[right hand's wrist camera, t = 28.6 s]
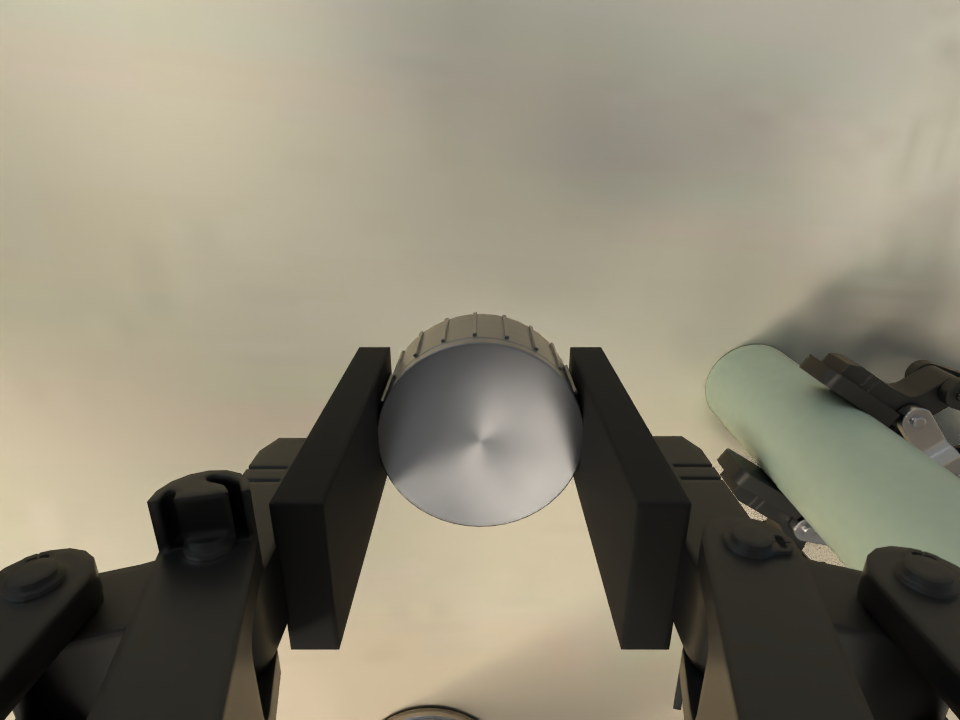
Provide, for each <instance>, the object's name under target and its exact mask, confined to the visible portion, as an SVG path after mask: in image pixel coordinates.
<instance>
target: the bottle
mask: <svg viewBox="0 0 960 720" xmlns="http://www.w3.org/2000/svg"><path fill="white" fill-rule="evenodd" d="M799 366H800V365H799V364H797V363H796V362H795V361H793V360H792V359H790V358H789V357H787V356H786V355H785V354H783V353H782V352H780V351H779V350H777V349H775V348H773V347H770V346H766V345H747V346H743V347H740V348H737V349H735V350H733V351H731V352H729V353H728V354H726V355H725V356H724V357H722V358H721V359H720V360H719V361H718V362H717V363H716V365H715V366H714V367H713V369H712V370H711V372H710V374H709V376H708V379H707V383H706V399H707V403H708V405H709V407H710V409H711V410H712V411H713V413H714V414H715V415H716V416H717V417H718V418H719V420H720V421H721V422H722V423H723V424H724V425H725V427H726V428H727V429H728V430H729V431H730V432H731V434H732V435H733V436H734V437H735V438H736V439H737V441H738V442H739V443H740V444H741V445H742V446H743V447H744V449H745V450H746V451H747V452H748V453H749V454H750V456H751V457H752V458H753V459H754V460H755V461H756V463H757V464H758V465H759V466H760V467H761V468H762V470H763V471H764V472H765V473H766V474H767V475H768V477H769V478H770V479H771V480H772V481H773V482H774V483H775V485H776V486H777V487H778V488H779V489H780V490H781V492H782V493H783V494H784V495H785V496H786V497H787V499H788V500H789V501H790V502H791V503H792V504H793V506H794V507H795V508H796V509H797V510H798V511H799V513H800V514H801V515H802V516H803V517H804V518H805V519H806V521H807V522H808V523H809V524H810V525H811V526H812V528H813V529H814V530H815V531H816V532H817V533H818V535H819V536H820V537H821V538H822V539H823V540H824V542H825V543H826V544H827V545H828V546H829V547H830V549H831V550H832V551H833V552H834V553H835V554H836V555H837V557H838V558H839V559H840V560H841V561H842V562H843V564H844V565H845V566H846V567H847V568H850V569H855V570H860V571H863V568H864V565H865V561H866V558H867V555H868V554H869V553H871V552H872V551H873V550H874V549H876V548H881V547H887V546H898V547H907V548H913V549H918V550H922V551H923V552H924V551H926V552H928V553H931V554H934V555H937V556H938V557H940V558H942V559H944V560H946V561H948V562H951V563H953V564H955V565H957V566H958V567H960V478H959V477H957V476H956V475H954V474H953V473H952V472H950V471H949V470H947V469H946V468H944V467H943V466H942V465H940V464H939V463H937V462H936V461H935V460H933V459H932V458H930V457H929V456H927V455H926V454H925V453H923V452H922V451H920V450H919V449H918V448H916V447H915V446H913V445H912V444H911V443H909V442H908V441H906V440H905V439H903V438H902V437H901V436H899V435H898V434H896V433H895V432H894V431H892V430H891V429H889V428H888V427H886V426H885V425H884V424H882V423H881V422H879V421H878V420H877V419H875V418H874V417H872V416H871V415H869V414H867V413H866V412H864V411H863V410H861V409H860V408H858V407H857V406H855V405H854V404H852V403H851V402H849V401H848V400H846V399H845V398H843V397H842V396H840V395H839V394H837V393H836V392H834V391H833V390H831V389H830V388H828V387H827V386H825V385H824V384H822V383H821V382H819V381H818V380H817V379H815V378H814V377H812V376H811V375H810V374H808V373H807V372H805V371H804V370H803V369H801V368H800V367H799Z"/></svg>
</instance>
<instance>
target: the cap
mask: <svg viewBox="0 0 960 720" xmlns="http://www.w3.org/2000/svg"><path fill="white" fill-rule="evenodd" d="M576 394H578V392H577V390H576V387H575V384H574V382H573V379H572V377H571V374H570V371H569V369H568V366H567V365H565V366H564V364H563V362H562V360H561V358H560V357H559V355H558V353H557V352H556V349H555V347H554V344H553V343H551V344H550V343H549V342H548V341H547V340H546V339H545V338H543V337H542V336H541V335H540V334H539V333H537V332H536V331H534V330H533V327H532V326H529V327H528V326H526V325H524V324H522V323H520V322H518V321H515V320H512V319H509V318H506V315H503V316H502V317H501V316H497V315H487V314H477V312H476V313H473V315H465V316H459V317H455V318H452V319H448V318H446V319H445V321H443V322H441V323H439V324H437V325H435V326H433V327H431V328H430V329H428V330H426V331H425V332H423V331H422V332H420V334H419V337H417V338H416V339H415V340H414V341H413V342H412V343H411V344H410V346H409V347H408V348H407V349H406V351H402V352H401V354H400V357H399V360H398V363H397V365H396V368H395V371H394V373H393V374H390V377H389V380H388V382H387V385H386V388H385V390H384V393H383V395H382V398H381V401H380V404H382V406H381V409H380V412H379V417H378V439H379V452H380V459H381V462H382V465H383V467H384V469H385V472H386V474H387V475H388V477H389V478H390V480H391V482H392V483H393V485H394V486H395V487H396V488H397V490H398V491H399V492H400V493H401V494H402V495H403V496H404V497H405V498H406V499H407V500H408V501H409V502H411V503H412V504H413V505H415V506H416V507H417V508H419V509H420V510H422V511H424V512H426V513H427V514H429V515H431V516H434V517H436V518H438V519H441V520H444V521H447V522H450V523H454V524H459V525H465V526H477V527H482V526H496V525H502V524H507V523H511V522H515V521H518V520H520V519H523V518H525V517H528V516H530V515H532V514H534V513H536V512H537V511H539V510H541V509H542V508H544V507H545V506H547V505H548V504H549V503H551V502H552V501H553V500H554V499H555V498H556V497H557V496H558V495H559V494H560V493H561V492H562V491H563V490H564V489H565V487H566V486H567V485H568V483H569V482H570V480H571V479H572V477H573V476H574V474H575V471H576V469H577V467H578V465H579V462H580V457H581V444H582V430H583V416H582V412H581V409H580V405H579V403H578V400H577V397H576Z"/></svg>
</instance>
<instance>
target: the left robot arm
mask: <svg viewBox="0 0 960 720" xmlns="http://www.w3.org/2000/svg"><path fill="white" fill-rule="evenodd" d="M799 367H800V368H801V369H803V370H804V371H805V372H807V373H808V374H810V375H811V376H812V377H814V378H815V379H817V380H818V381H819V382H821V383H822V384H824V385H825V386H827V387H828V388H830V389H831V390H833V391H834V392H836V393H837V394H839V395H840V396H842V397H843V398H845V399H846V400H848V401H849V402H851V403H852V404H854V405H855V406H857V407H858V408H860V409H861V410H863V411H864V412H866V413H867V414H869V415H871V416H872V417H874V418H875V419H877V420H878V421H879V422H881V423H882V424H884V425H885V426H886V427H888V428H889V429H891V430H892V431H894V432H895V433H896V434H898V435H899V436H901V437H902V438H903V439H905V440H906V441H908V442H909V443H911V444H912V445H913V446H915V447H916V448H918V449H919V450H920V451H922V452H923V453H925V454H926V455H927V456H929V457H930V458H932V459H933V460H935V461H936V462H937V463H939V464H940V465H942V466H943V467H944V468H946V469H947V470H949V471H950V472H952V473H953V474H954V475H956V476H957V477H959V478H960V445H957V446H952V445H950V444H949V443H948V441H947V440H946V439H945V437H944V435H943V433H942V432H941V430H940V428H939V426H938V424H937V423H936V421H935V419H934V417H933V415H935V414H936V413H938V412H940V411H942V410H943V409H945V408H947V407H948V406H949V407H951V408H954V409H957V410H960V371H957V370H954V369H951V368H948V367H945V366H942V365H939V364H936V363H933V362H929V361H926V360H919V361H916V362H914V363H912V364H911V365H910V366H909V367H908V368H907V370H906V372H905V378H903V379H902V380H900V381H898V382H895V383H890V384H887V383H884V382H883V381H881V380H880V379H878V378H877V377H876V376H874V375H873V374H871V373H870V372H868V371H867V370H865V369H864V368H863V367H861V366H859V365H858V364H856V363H854V362H853V361H851V360H849V359H848V358H846V357H844V356H843V355H840V354H835V353H829V354H828V355H827V356H826V357H825V358H824V359H823V360H822V361H819V360H818V359H816V358H815V357H813V356H812V355H809V356H808V357H807V358H806V359H805V361H804V362H803V363H802V364H801V365H800V366H799ZM717 461H718V462H719V464H720V465H721V466H722V468H723V469H724V471H723V472H722V473H721V474H720V475H721V477H722V478H723V480H724V481H725V483H726V484H727V485H728V487H729V488H730V490H731V491H732V492H733V494H734V495H735V496H736V498H737V499H738V500H739V501H740V502H742V503H744V504H746V505H748V506H749V507H751V508H752V509H755V510H756V511H757V512H759V513H761V514H763V515H764V516H766V517H768V518H767V520H765V521H762V522H764V523H766V524H769V525H771V526H773V527H775V528H778V529H779V530H780V531H782V532H783V533H785V534H786V535H787V536H789V537H790V538H791V539H792V540H793V541H794V542H795V544H796V545H797V546H798V548H799V549H800V550H801V552H802V555H803V557H804V558H807V559H809V558H808V556H807V555H806V554H805V553H804V552H803V551H802V549H803V547H804V545H805V543H806V542H811V543H817V544H822V545H827V544H826V543H825V542H824V540H823V539H822V538H821V537H820V536H819V535H818V533H817V532H816V531H815V530H814V529H813V528H812V526H811V525H810V524H809V523H808V522H807V521H806V519H805V518H804V517H803V516H802V515H801V514H800V513H799V511H798V510H797V509H796V508H795V507H794V506H793V504H792V503H791V502H790V501H789V500H788V499H787V497H786V496H785V495H784V494H783V493H782V492H781V490H780V489H779V488H778V487H777V486H776V485H775V483H774V482H773V481H772V480H771V479H770V478H769V477H768V475H767V474H766V473H765V472H764V471H763V470H762V468H760V467H758V466H757V465H755V464H754V463H752V462H750V461H749V460H747V459H745V458H744V457H742V456H740V455H739V454H737V453H735V452H734V451H732V450H730V449H728V448H727V449H726V450H725V451H724V452H723V453H722V455H721V456H720V457H719V458H718V459H717ZM827 546H828V545H827ZM821 563H825V562H821ZM387 720H474V719H472V718H470V717H468V716H466V715H464V714H461V713H458V712H455V711H451V710H447V709H439V708H420V709H413V710H409V711H405V712H402V713H399V714H396V715H394V716H392V717H390V718H388V719H387Z"/></svg>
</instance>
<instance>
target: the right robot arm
mask: <svg viewBox="0 0 960 720" xmlns="http://www.w3.org/2000/svg"><path fill="white" fill-rule="evenodd" d="M569 371H570V374H571V377H572V379H573V382H574V384H575V387H576V390H577V392H578V394H576V397H577V400H578V403H579V405H580V409H581V412H582V416H583V430H582V444H581V457H580V462H579V465H578V467H577V469H576V471H575V474H574V476H573V477H574V480H575V484H576V488H577V491H578V495H579V498H580V502H581V506H582V509H583V513H584V517H585V520H586V524H587V527H588V531H589V535H590V538H591V542H592V545H593V549H594V553H595V556H596V560H597V564H598V567H599V571H600V574H601V578H602V582H603V585H604V589H605V593H606V596H607V600H608V603H609V607H610V611H611V614H612V618H613V622H614V625H615V629H616V632H617V636H618V640H619V643H620V647H621V649H669V647H670V640H671V634H672V627H673V622H674V624H675V627H676V629H677V632H678V634H679V637H680V639H681V642H682V644H683V651H682V657H681V663H680V669H679V675H678V681H677V687H676V693H675V699H674V706H673V709H678V710H681V706H682V702H683V711H684V720H948V719H947V718H946V714H947V712H948V709H949V708H950V709H951V710H952V711H953V712H954V714H955V715H956V716H957V717H958V718H959V720H960V567H958V566H957V565H955V564H953V563H951V562H948V561H946V560H944V559H942V558H940V557H938V556H937V555H934V554H931V553H928V552H926V551H924V552H923V551H922V550H918V549H913V548H907V547H898V546H887V547H881V548H876V549H874V550H873V551H872V552H871V553H869V554H868V555H867V558H866V561H865V565H864V568H863V571H860V570H855V569H850V568H846V567H841V566H836V565H831V564H826V563H821V562H818V561H814V560H810V559H807V558H804V557H803V555H802V552H801V550H800V549H799V548H798V546H797V545H796V544H795V542H794V541H793V540H792V539H791V538H790V537H789V536H787V535H786V534H785V533H783V532H782V531H780V530H779V529H778V528H775V527H773V526H771V525H769V524H766V523H764V522H762V521H759V520H755V519H750V517H749V516H748V514H747V513H746V512H745V510H744V509H743V507H742V506H741V505H740V503H739V502H738V500H737V499H736V498H735V496H734V495H733V493H732V492H731V491H730V489H729V488H728V486H727V485H726V483H725V482H724V481H723V480H721V476H720V475H719V474H718V472H717V471H716V469H715V468H714V467H712V464H711V462H710V461H709V460H708V458H707V457H706V455H705V454H704V453H703V451H702V450H701V449H700V448H698V447H697V446H695V445H694V444H692V443H691V442H689V441H688V440H686V439H685V438H683V437H682V436H652V435H651V433H650V431H649V429H648V428H647V426H646V424H645V422H644V421H643V419H642V417H641V416H640V414H639V412H638V410H637V409H636V407H635V405H634V404H633V402H632V400H631V398H630V397H629V395H628V393H627V391H626V390H625V388H624V386H623V385H622V383H621V381H620V379H619V378H618V376H617V374H616V372H615V371H614V369H613V367H612V366H611V364H610V362H609V360H608V359H607V357H606V355H605V353H604V352H603V350H602V348H601V347H570V362H569ZM390 374H392V373H391V356H390V347H359V349H358V351H357V352H356V354H355V356H354V358H353V359H352V361H351V363H350V364H349V366H348V368H347V370H346V371H345V373H344V375H343V377H342V378H341V380H340V382H339V383H338V385H337V387H336V389H335V390H334V392H333V394H332V396H331V397H330V399H329V401H328V402H327V404H326V406H325V408H324V409H323V411H322V413H321V415H320V416H319V418H318V420H317V421H316V423H315V425H314V427H313V428H312V430H311V432H310V434H309V435H308V437H307V438H278V439H277V440H275V441H274V442H272V443H271V444H269V445H268V446H266V447H265V448H263V449H262V450H260V451H259V453H258V454H257V455H256V457H255V458H254V460H253V461H252V463H251V464H250V465H249V469H247V470H246V471H245V472H244V474H243V475H242V474H240V473H236V472H232V471H228V470H214V471H205V472H200V473H195V474H190V475H187V476H185V477H182V478H180V479H177V480H174V481H172V482H170V483H169V484H167V485H165V486H164V487H162V488H161V489H159V490H157V491H156V492H155V493H154V495H153V496H152V497H151V498H150V499H149V500H148V501H147V504H148V508H149V512H150V516H151V520H152V524H153V528H154V532H155V536H156V540H157V545H158V549H159V553H158V556H157V558H156V560H155V561H152V562H148V563H145V564H141V565H136V566H132V567H127V568H122V569H117V570H112V571H108V572H103V573H98V570H97V566H96V563H95V560H94V557H92V556H91V555H90V554H89V553H88V552H86V551H84V550H78V549H72V548H68V549H59V550H50V551H46V552H41V553H40V554H34V555H32V556H29V557H26V558H24V559H23V560H20V561H18V562H16V563H14V564H12V565H10V566H8V567H6V568H4V569H3V570H1V571H0V720H5V718H6V717H7V716H8V715H9V714H10V712H11V711H12V710H13V713H14V715H15V718H16V719H15V720H276V713H277V703H278V694H279V685H280V675H281V670H280V663H279V657H278V651H277V648H278V645H279V643H280V640H281V638H282V635H283V633H284V630H285V628H286V625H288V631H289V638H290V644H291V649H339V648H340V645H341V641H342V637H343V634H344V630H345V627H346V623H347V619H348V616H349V612H350V608H351V605H352V601H353V598H354V594H355V590H356V587H357V583H358V579H359V576H360V572H361V569H362V565H363V561H364V558H365V554H366V550H367V547H368V543H369V540H370V536H371V532H372V529H373V525H374V521H375V518H376V514H377V511H378V507H379V503H380V500H381V496H382V492H383V489H384V485H385V482H386V478H387V474H386V472H385V469H384V467H383V465H382V462H381V459H380V452H379V439H378V417H379V412H380V409H381V406H382V404H380V401H381V398H382V395H383V393H384V390H385V388H386V385H387V382H388V380H389V377H390Z"/></svg>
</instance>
